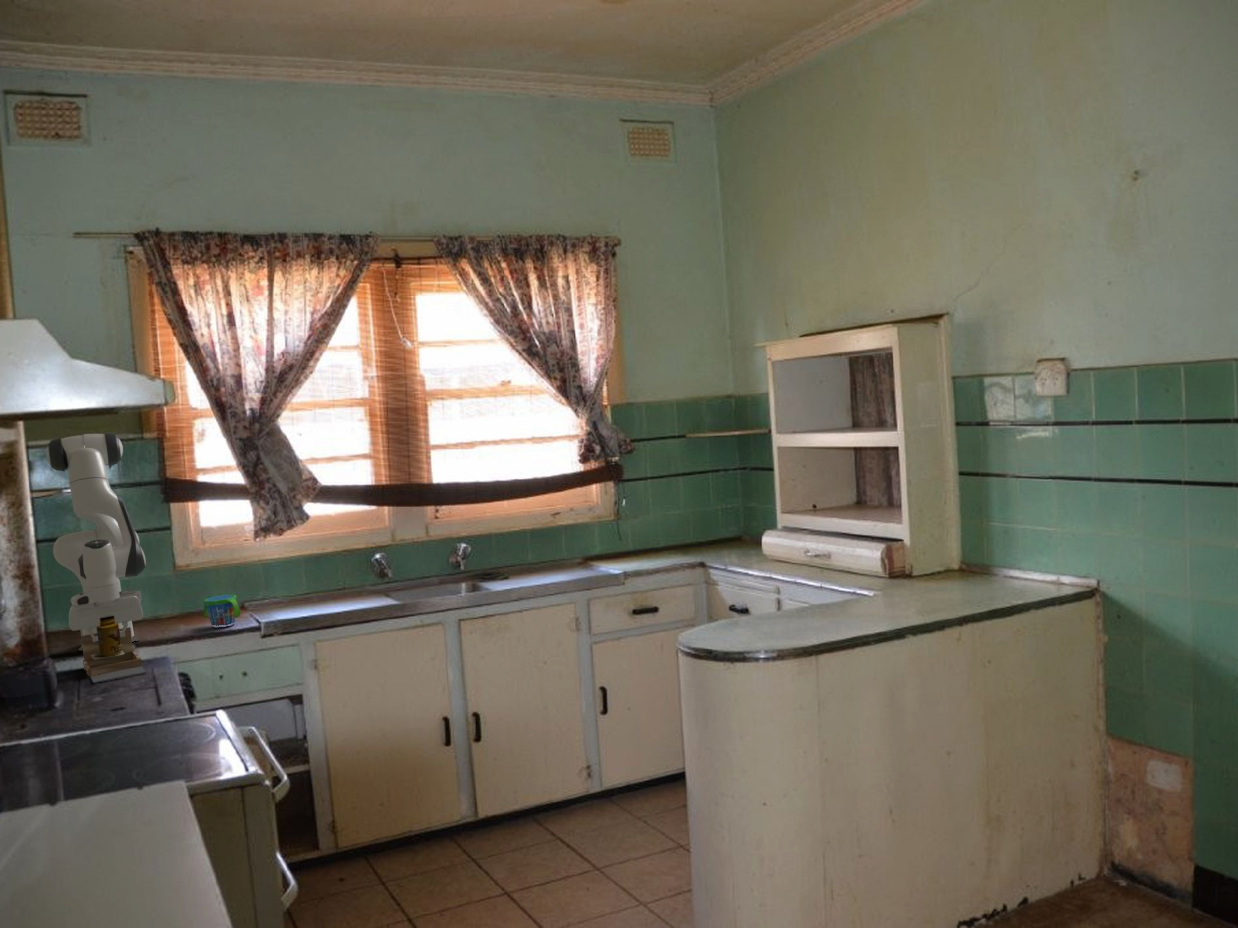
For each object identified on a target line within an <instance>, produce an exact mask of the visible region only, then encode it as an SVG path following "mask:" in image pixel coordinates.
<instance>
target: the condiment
mask: <svg viewBox="0 0 1238 928" xmlns="http://www.w3.org/2000/svg"><path fill="white" fill-rule="evenodd" d="M97 635H98V640H99V642H98V643H99V650H100V654H94V655H91V656H92V658H93V659H94V660H96V659H101V658H106V657H113V656H118V655H123V654H125V653H124V652H123V651H122V648H121V641H120V633H119V625H118V623H117V624H116V623H115V621H114V616H109V617H103V618H100V626H99V627H97Z"/></svg>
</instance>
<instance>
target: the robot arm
mask: <svg viewBox="0 0 1238 928" xmlns="http://www.w3.org/2000/svg"><path fill="white" fill-rule="evenodd" d="M123 454H124V446H123V444H122V441H121V439H120V437H119V436H118V435H117V434H115V433H111V432H104V433H85V434H79V435H73V436H67V437H64V438H63V437H62V438H61V437H58V438H57V437H56V438H55V439H52V440H50V442H48V444H47V447H46V452H45V456H46V460H47V462H48V464H49V465H50V468H52V469H53V470H55V471H59V472H66V471H68V482H69V483H68V484H69V490H70V491H69V492H70V494H71V500H72V508H73V513H74V514H75V516H76V517H78V518H81V519H83V520H86V521H89V522H93V523H95V525H96V527H97V528H96V529H93V530H92V529H91V530H86V531H78V532H72V533H68V534H65V535H62V536H59V537H58V538H57V539H56V540H55V542H54V544H53V547H52V552H53V553H52V554H53V557H54V559H55V560H56V562H57V563H58V564H59V565H61V566H63V567H65V568H66V569H68V570H70V571H71V572H72V573H74V575H75V576H76V577H77V579H79V580H78V581H79V582H80V584H81V587H82V590H83V591H82V592H80V593H78V594H75V595H73V596H72V597H71V598H70V603H71V606H70V608H69V613H68V625H69V626H68V627H69V629H70V630H71V631H73V632H76V631H80V637H81V636H82V635H88V634H90V635H91V636H92V639H93V643H95V642H99V640H98V635H96V636H94V635H93V633H97V627H99V626H100V618H103V617H109V616H114V621H115V623H116V624H117V623H118V625H119V629H122V628H123V629H122V631H119V633H120V638H122V637H125V631H126V628H127V627H130V628H131V636H132V637H133V636H135V634H134V627H133V622H134V621H140V620H142V619H143V617H144V611H143V607H142V604H141V603H142V601H143V598H142V597H143V596H142V593H141V591H140V590H136V589H130V590H122V588H121V587H122V586H121V581H120V579H119V578H124V577H125V578H133V577H137V576H140V574H141V573H142V572H143V571H144V570H145V569H146V563H147V561H146V560H147V559H146V556H145V552H144V550H143V548H142V547H141V545H140V537H139V535H138V533H137V531H136V530H135V529H134V528H135V527H134V525H133V522H132V518H131V516H130V514H129V511H128V508H127V506H126V503H125V500H124V499H123V498H122V496H121V495H119V494H116V493H115V492H114V491H113V490H112V488H111V486H110V481H109V475H108V474H109V473H108V471H107V466H108V467H109V468H108V469H109V470H110V469H111V468H112V466H115V465H117V464H119V462H120V461H121V460H122V456H123ZM132 621H133V622H132Z"/></svg>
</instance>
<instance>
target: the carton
mask: <svg viewBox="0 0 1238 928" xmlns="http://www.w3.org/2000/svg"><path fill="white" fill-rule="evenodd" d="M122 629H123V628H122ZM122 629H119V631H122ZM93 635H94V636H96V635H97V633H93ZM80 639H81V644H82V647H83V652H82V653H83V660H82V664H83V665H82V666H83V669H84V671H85V670H86V671H87V673H86V675H87V674H88V675H87V677H88V676H94V675H98V674H105V673H110V672H115V671H120V670H126V669H131V668H136V667H141V666H142V667H143V661H142V658H141V656H140V655H139V654H138V653H137V652H136V650H134V643H132V636H131V628H130V627H127V628H126V631H125V637H122V638H120V641H121V648H122V651H123V652H124V653H125V654H123V655H118V656H113V657H106V658H101V659H96V660H94V659H93V658H92V656H91V655H94V654H100V650H99V643H98V642H95V643H93V639H92V636H91V635H90V634H88V635H82V636H81V635H80ZM86 671H85V672H86Z"/></svg>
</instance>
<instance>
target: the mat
mask: <svg viewBox="0 0 1238 928" xmlns="http://www.w3.org/2000/svg"><path fill="white" fill-rule="evenodd" d="M146 674H147V671H146V669H145V668H144V667H143V665H142V666H141V667H136V668H131V669H126V670H120V671H115V672H110V673H105V674H100V675H95V676H90V677H91V678H90V677H89V678H90V680H91V679H92V680H91V682H92V681H93V682H92V683H97V684H99V683H98V682H101V681H107V682H112V681H116V680H115V679H117V680H121V679H122V680H123V679H127V678H132V677H137V676H141V675H146ZM126 677H127V678H126ZM111 680H112V681H111Z"/></svg>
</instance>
